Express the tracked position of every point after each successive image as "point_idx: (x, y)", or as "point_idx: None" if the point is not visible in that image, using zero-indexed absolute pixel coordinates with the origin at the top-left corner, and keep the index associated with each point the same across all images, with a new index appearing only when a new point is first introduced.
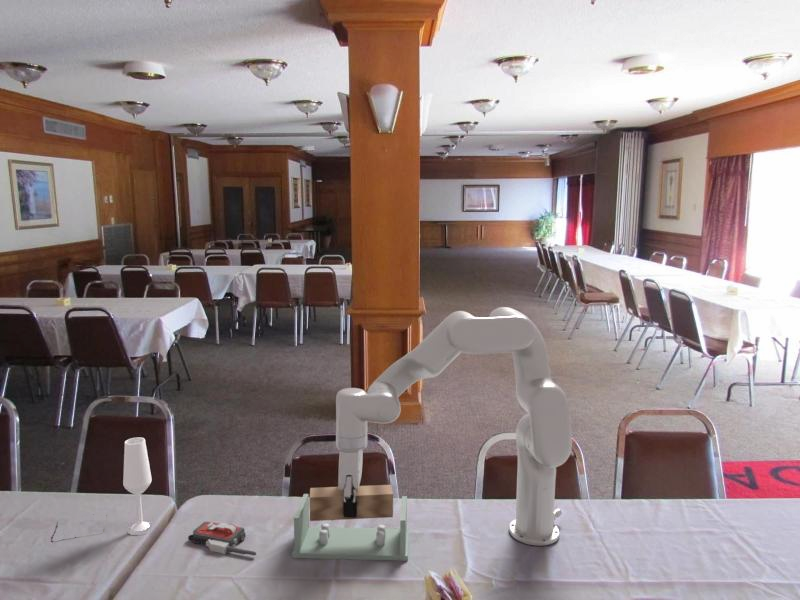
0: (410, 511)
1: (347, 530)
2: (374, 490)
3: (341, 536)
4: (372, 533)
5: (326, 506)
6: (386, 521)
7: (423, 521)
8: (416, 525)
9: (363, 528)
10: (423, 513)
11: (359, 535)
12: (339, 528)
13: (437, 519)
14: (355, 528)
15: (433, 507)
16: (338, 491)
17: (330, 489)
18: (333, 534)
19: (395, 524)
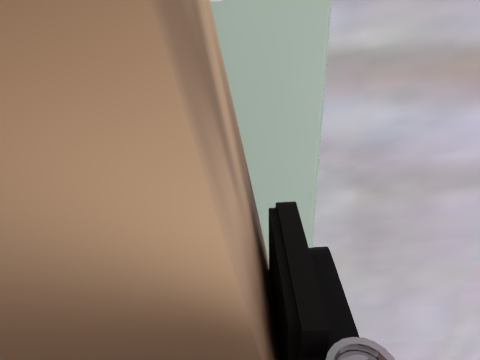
0: (463, 289)
1: (295, 90)
2: None
3: (229, 68)
4: (270, 207)
5: None
6: (401, 226)
7: (383, 325)
8: (358, 311)
9: (315, 164)
10: (438, 322)
11: (249, 157)
12: (316, 38)
13: (390, 353)
14: (316, 127)
15: (472, 341)
16: (52, 345)
17: (78, 205)
18: (246, 13)
19: (372, 256)
